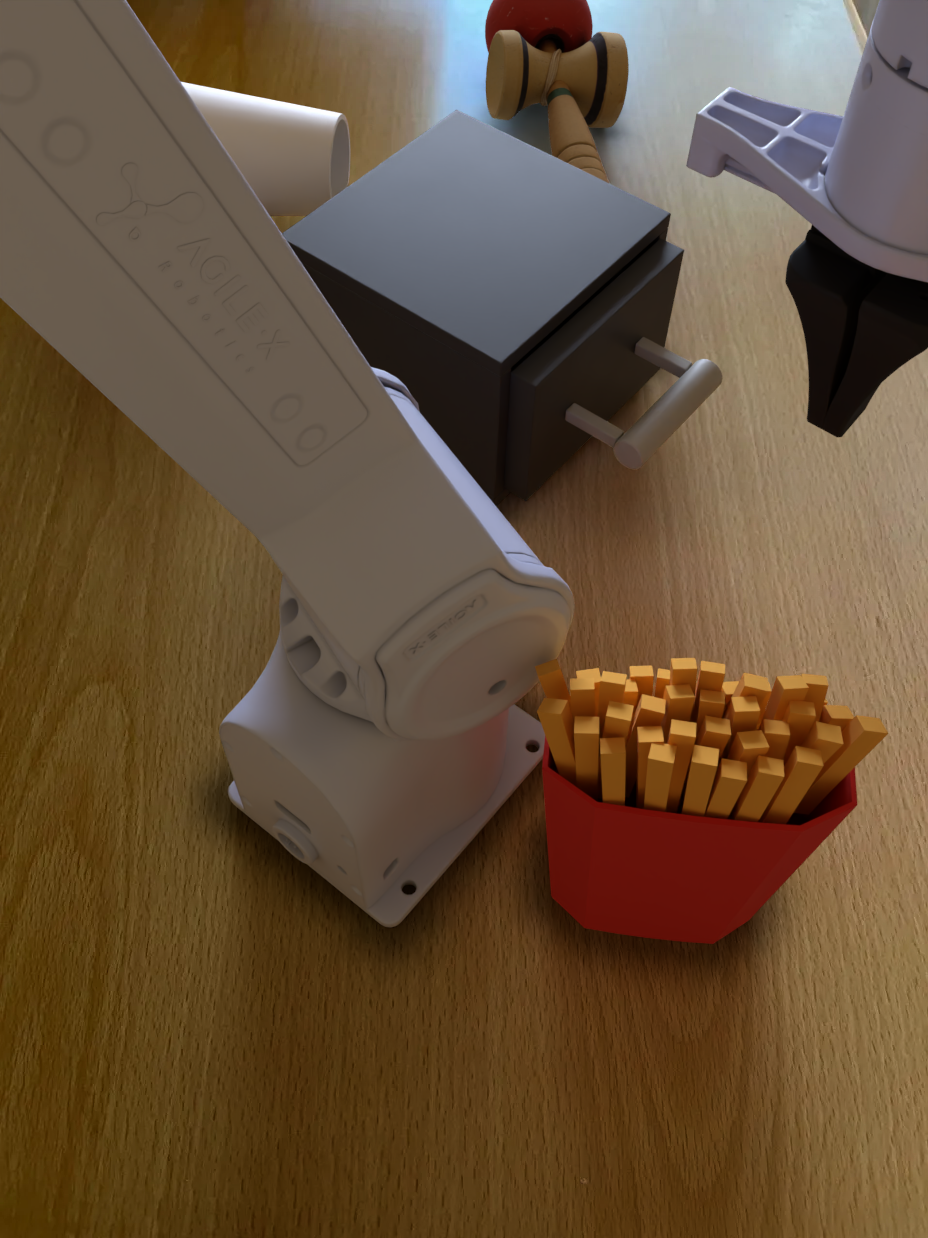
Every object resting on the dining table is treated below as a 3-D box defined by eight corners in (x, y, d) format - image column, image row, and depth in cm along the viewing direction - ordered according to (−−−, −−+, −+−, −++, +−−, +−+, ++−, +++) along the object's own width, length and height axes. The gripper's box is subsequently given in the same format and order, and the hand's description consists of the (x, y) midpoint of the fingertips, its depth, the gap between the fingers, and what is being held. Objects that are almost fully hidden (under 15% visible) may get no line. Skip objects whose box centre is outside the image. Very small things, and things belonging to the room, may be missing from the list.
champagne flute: (-183, 94, 55) (319, 143, 53) (-122, 19, 59) (349, 62, 57) (-126, 217, 61) (331, 265, 59) (-73, 141, 64) (358, 184, 62)
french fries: (774, 839, 42) (887, 640, 31) (777, 957, 39) (901, 787, 29) (517, 809, 42) (541, 603, 32) (505, 924, 40) (527, 744, 29)
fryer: (643, 364, 55) (671, 212, 48) (493, 509, 50) (501, 363, 43) (455, 262, 59) (456, 108, 52) (299, 387, 54) (277, 235, 47)
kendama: (673, 254, 62) (600, 24, 69) (675, 163, 56) (595, -77, 64) (528, 288, 62) (472, 55, 70) (516, 201, 56) (455, -42, 64)
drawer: (733, 408, 52) (767, 289, 47) (601, 549, 48) (621, 435, 42) (482, 273, 57) (486, 150, 52) (341, 388, 53) (329, 268, 47)
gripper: (1311, 82, 30) (1074, 446, 41) (812, -98, 35) (722, 270, 46) (1217, 216, 27) (988, 570, 38) (683, -3, 32) (620, 368, 43)
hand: (836, 414), depth 42 cm, fingers closed
